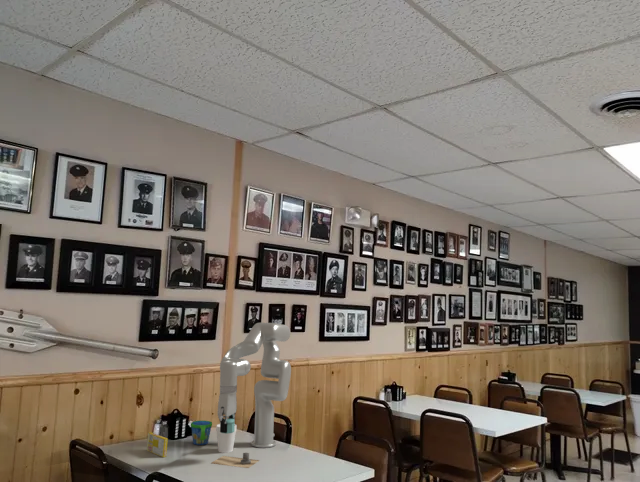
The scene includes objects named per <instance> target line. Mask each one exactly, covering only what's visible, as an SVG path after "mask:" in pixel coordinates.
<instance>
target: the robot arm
mask: <svg viewBox="0 0 640 482" xmlns="http://www.w3.org/2000/svg"><path fill="white" fill-rule="evenodd" d="M290 337H291V329H290V326H288V325H287V324H280V323H276V322H257V323H255V324H254V325H253V326H252V328H251V329H250V331H249V332H248V334H247V336H245V339H243V341H241V342H239V343H237V344H236V345H234V346H232V347H231V348H229V349H228V350H227V352H226V353H225V355H224V356H223V357H222V359H221V360H220V364H219V371H220V373H219V375H220V377H219V395H218V401H217V402H218V403H217V404H218V405H217V418H218V420H219V424H220V432H222V433H227V418H231V419H234V420H235V419H236V412H237V409H238V408H237V406H238V405H237V404H238V403H237V392H238V388H237V387H238V377H244V376H246V375H247V374H249V373H250V371H251V368H252V364H251V362H250V361H249V360H247V359H245V358H243V357H248V356H251V355H254V354H256V353H257V352H259V350H260V349H261V347H262V348H263V355H262V359H261V365H260V366H261V367H260V374H261V377H263V378H267V379H262V380H258V381H257V382H255V384H254V387H253V392H254V398H255V399H254V401H255V403H254V405H255V407H254V409H255V410H254V411H255V415H254V434H253V435H254V437H253V440H251V442H250V446H252V447H254V448H263V449H266V448H272V447H275V446H276V445H277V441H276V440H274V437H275V433H274V428H275V427H274V426H275V425H274V422H275V407H274V404H273V401H275V402H284V401H285V400H286V399H287V397H288V394H289V388H290V382H291V378H292V377H291V376H292V366H291V363H290V362H289V361H288V360H285V359H280V354H281V349H280V347H279V345H278V343H277V342H284V343H285V342H287V341H288V340H289V339H290ZM268 379H275V380H268ZM276 379H278V381H277V380H276ZM224 419H225V420H224Z"/></svg>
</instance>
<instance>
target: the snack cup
mask: <svg viewBox="0 0 640 482" xmlns="http://www.w3.org/2000/svg"><path fill="white" fill-rule="evenodd" d="M212 426H213V422H212V421H210V420H196V421H195V420H194V421H192V422H191V423H190V428H191V435H192V436H191V437H192V443H193V444H194V445H197V446H204V445H207V444H209V440H210V435H211V431H212V430H211V429H212Z"/></svg>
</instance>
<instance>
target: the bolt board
mask: <svg viewBox="0 0 640 482" xmlns="http://www.w3.org/2000/svg"><path fill="white" fill-rule="evenodd" d="M260 461H261V460H260V459H252V458H250V452H243V453H242V457H236V456H229V455H228V456H227V455H222V456H220V457H219V458H217V459H215V460H213V461H212V462H210V464H211V465H212V464H214V465H220V466H227V467H237V468H242V469H243V468H244V469H250V468H251V467H252V466H254V465H255V464H257V463H258V462H260Z"/></svg>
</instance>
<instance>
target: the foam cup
mask: <svg viewBox="0 0 640 482" xmlns="http://www.w3.org/2000/svg"><path fill="white" fill-rule="evenodd" d="M237 427H238V426H237V424H235V427H234V432H233V433H228V434H226V433H221V432H220V423H218V424H216V427H215V428H216V438H217V439H216V440H217V450H218V451H217V452H219V453H222V454H225V453H226V454H228V453H231V452H233V450H234V445H235V440H236V439H235V438H236V433H237Z"/></svg>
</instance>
